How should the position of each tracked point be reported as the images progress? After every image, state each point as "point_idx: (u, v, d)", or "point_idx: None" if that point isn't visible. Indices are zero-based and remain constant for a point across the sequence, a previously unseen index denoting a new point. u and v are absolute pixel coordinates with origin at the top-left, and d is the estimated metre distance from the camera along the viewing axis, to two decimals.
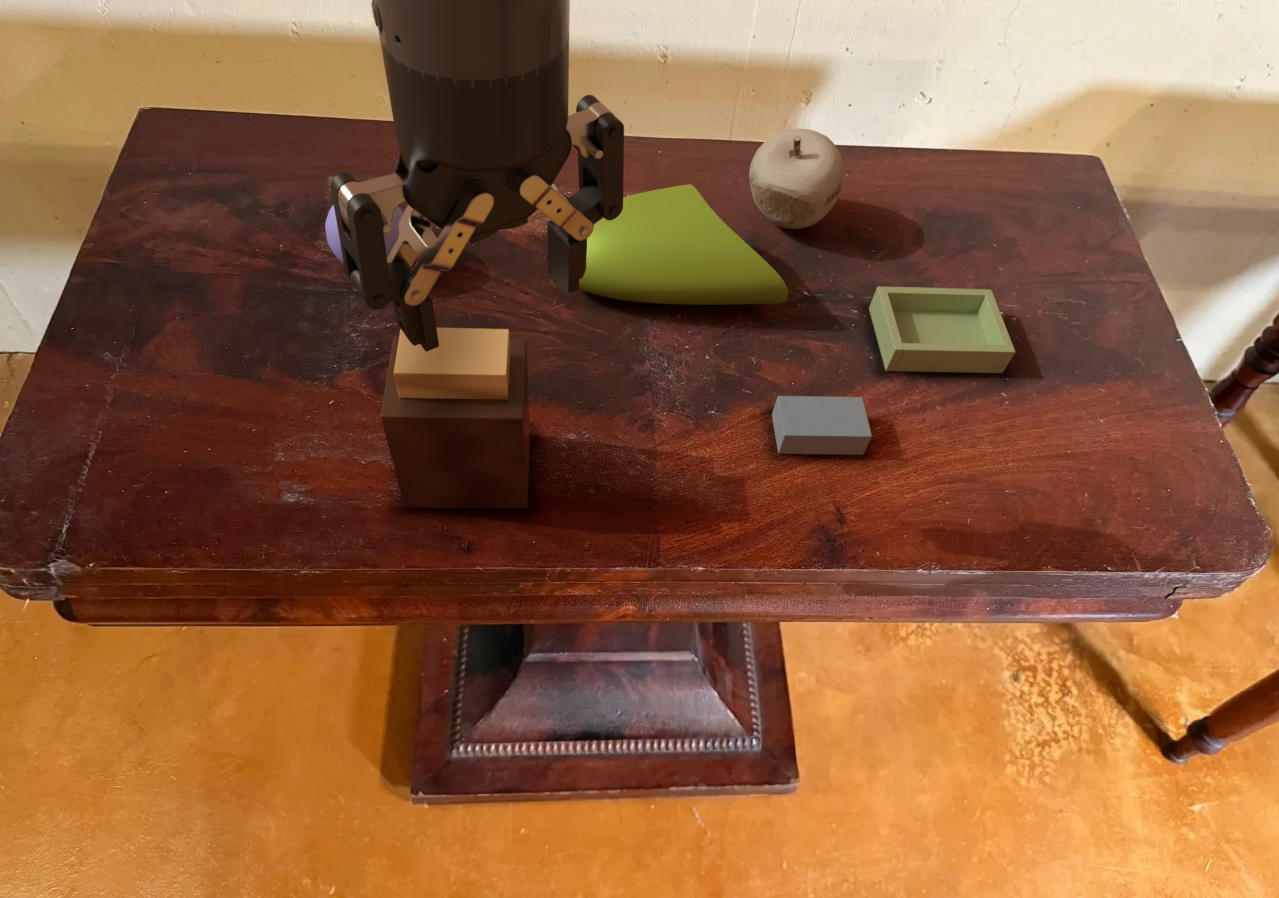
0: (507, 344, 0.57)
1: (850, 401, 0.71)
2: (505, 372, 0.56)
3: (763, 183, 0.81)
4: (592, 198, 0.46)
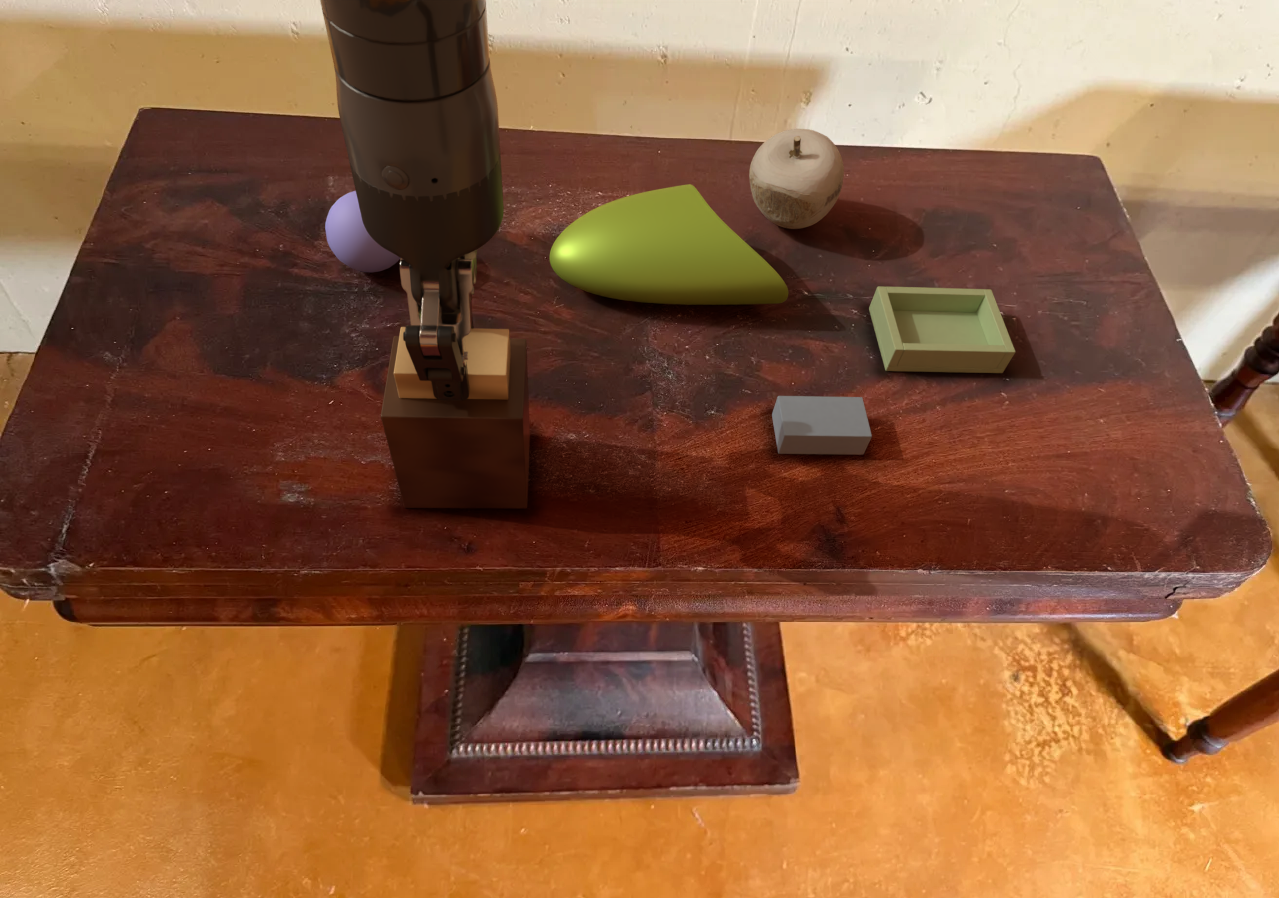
0: (507, 344, 0.57)
1: (850, 401, 0.71)
2: (505, 372, 0.56)
3: (763, 183, 0.81)
4: None
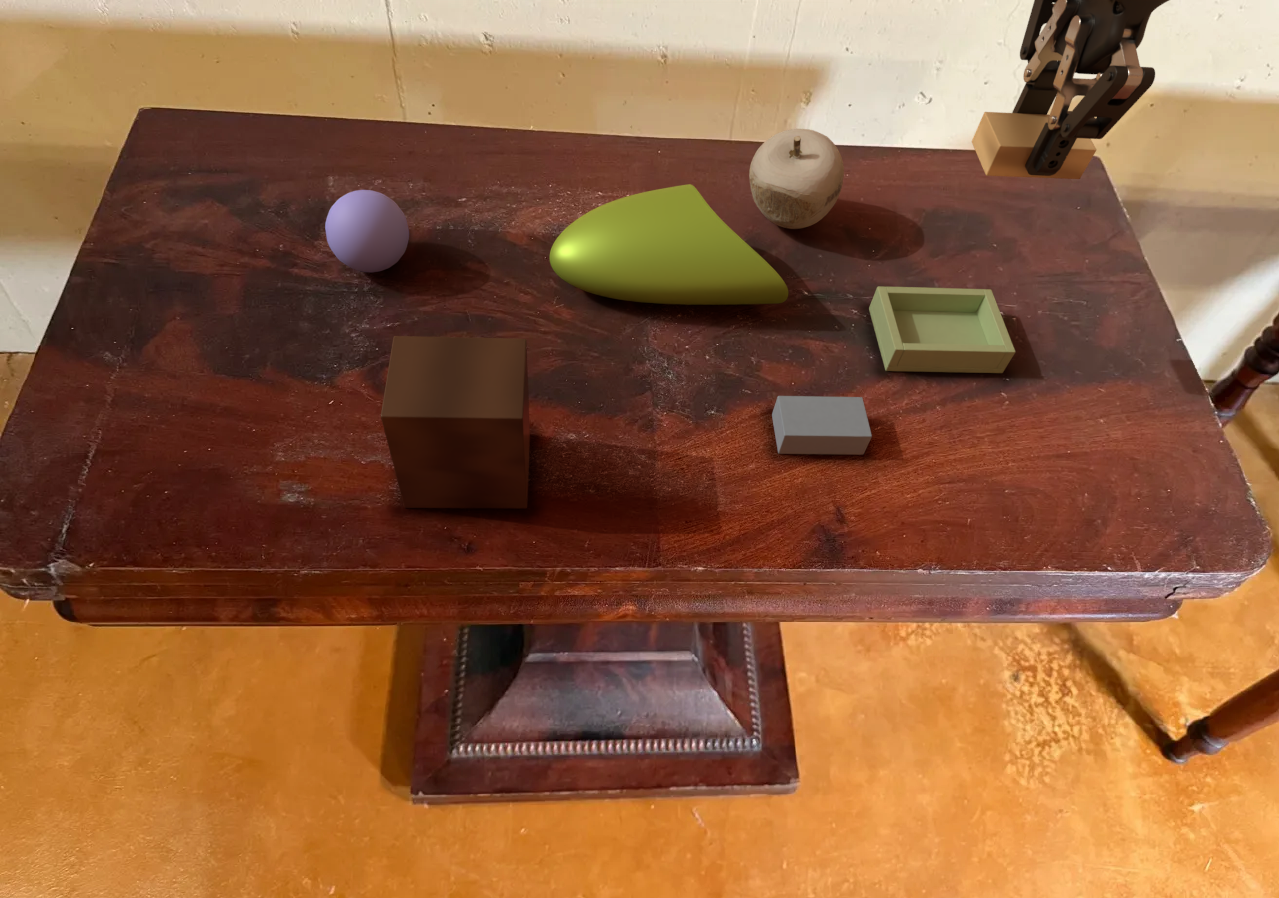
0: None
1: (850, 401, 0.71)
2: None
3: (763, 183, 0.81)
4: None
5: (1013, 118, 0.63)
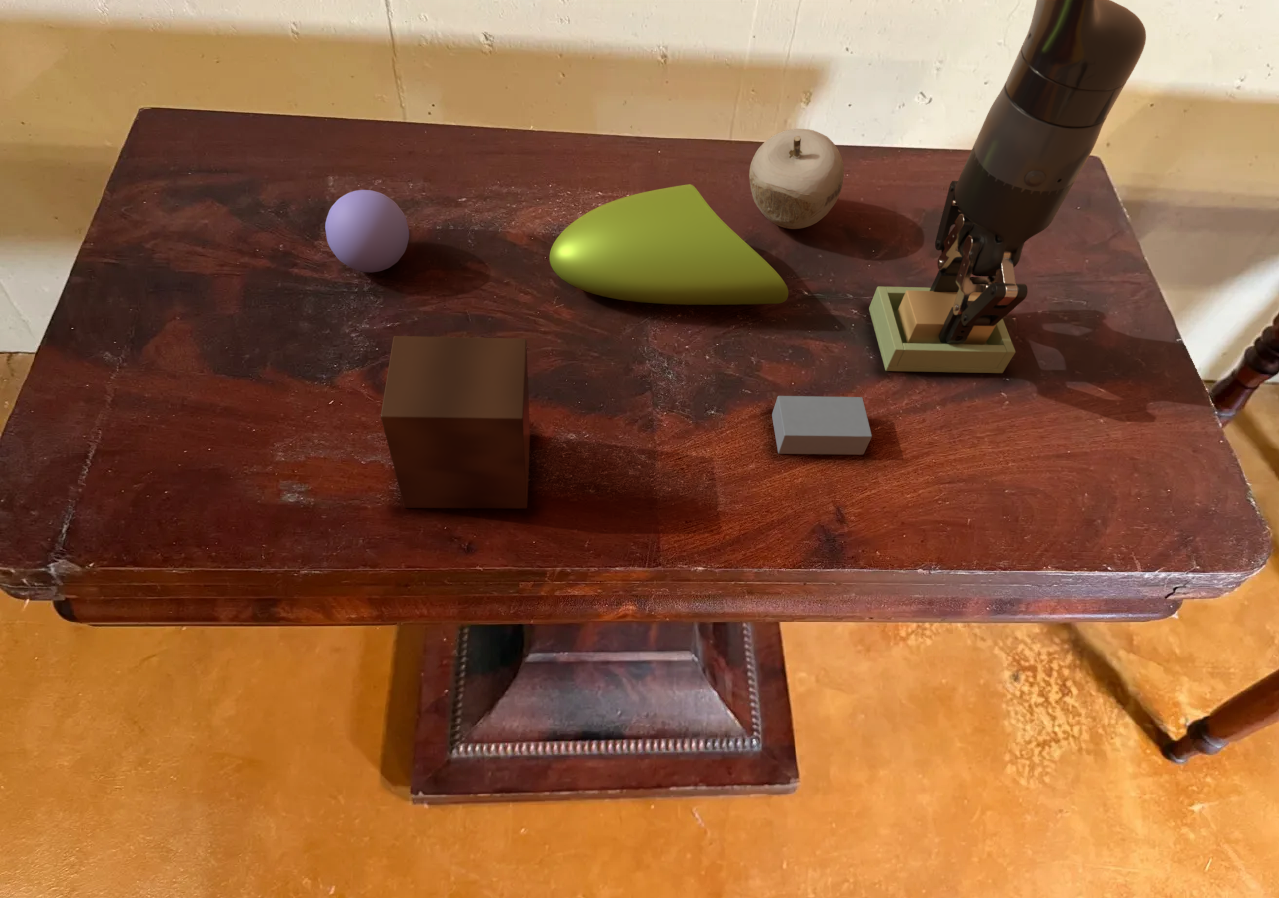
0: None
1: (850, 401, 0.71)
2: None
3: (763, 183, 0.81)
4: None
5: (929, 296, 0.77)
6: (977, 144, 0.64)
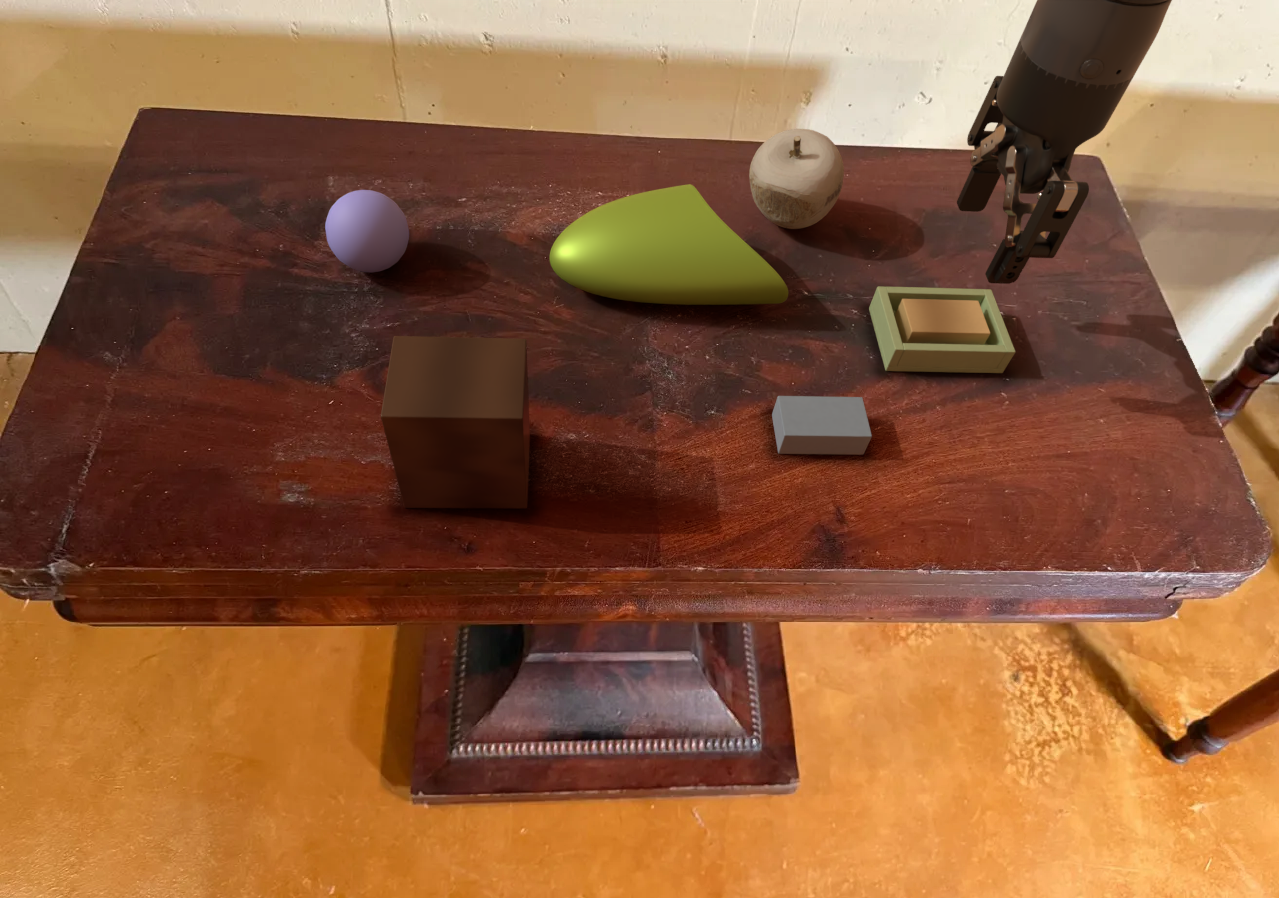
0: None
1: (850, 401, 0.71)
2: (989, 331, 0.76)
3: (763, 183, 0.81)
4: None
5: (924, 304, 0.78)
6: (1024, 36, 0.57)
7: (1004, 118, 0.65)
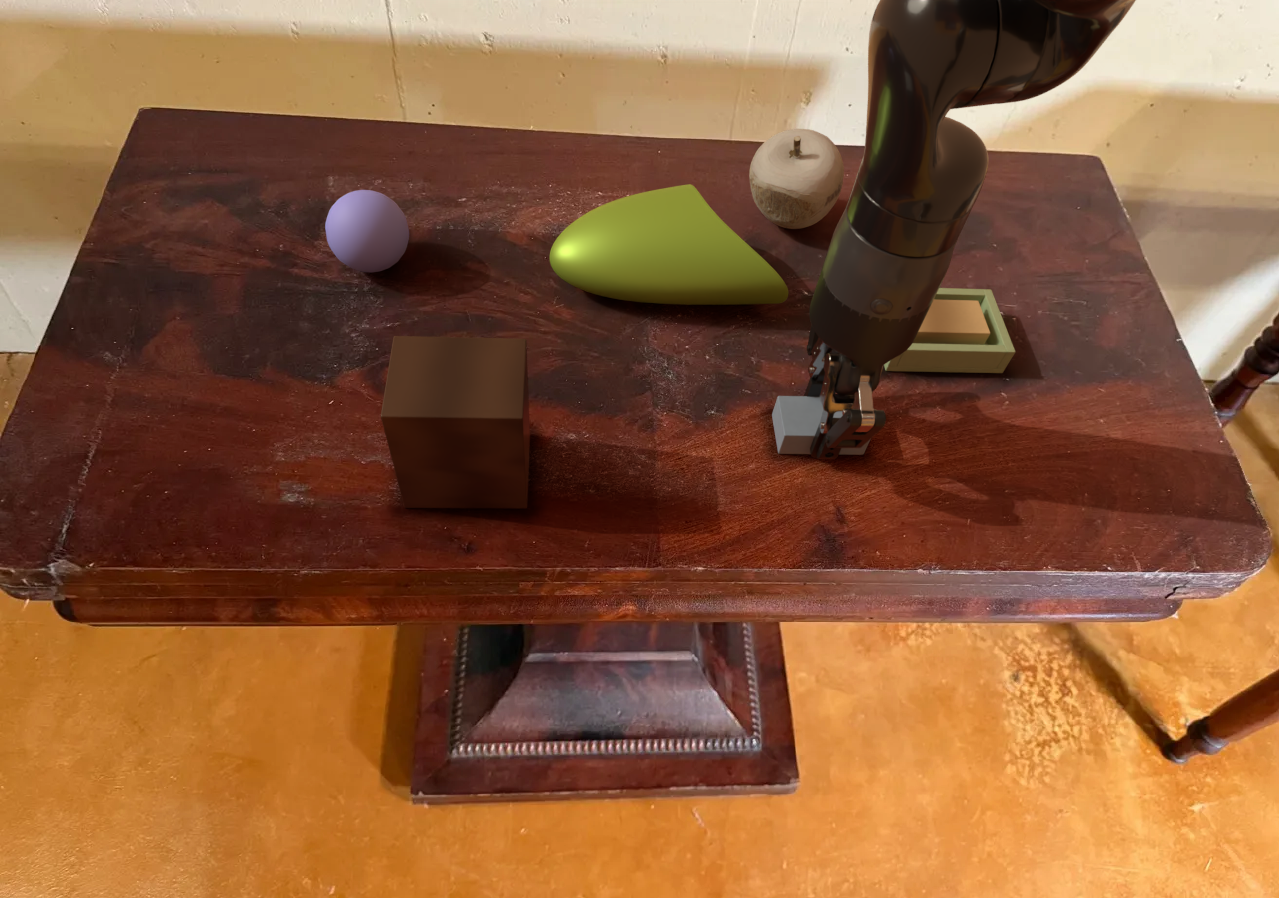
0: None
1: None
2: (989, 331, 0.76)
3: (763, 184, 0.81)
4: None
5: None
6: (825, 263, 0.58)
7: None
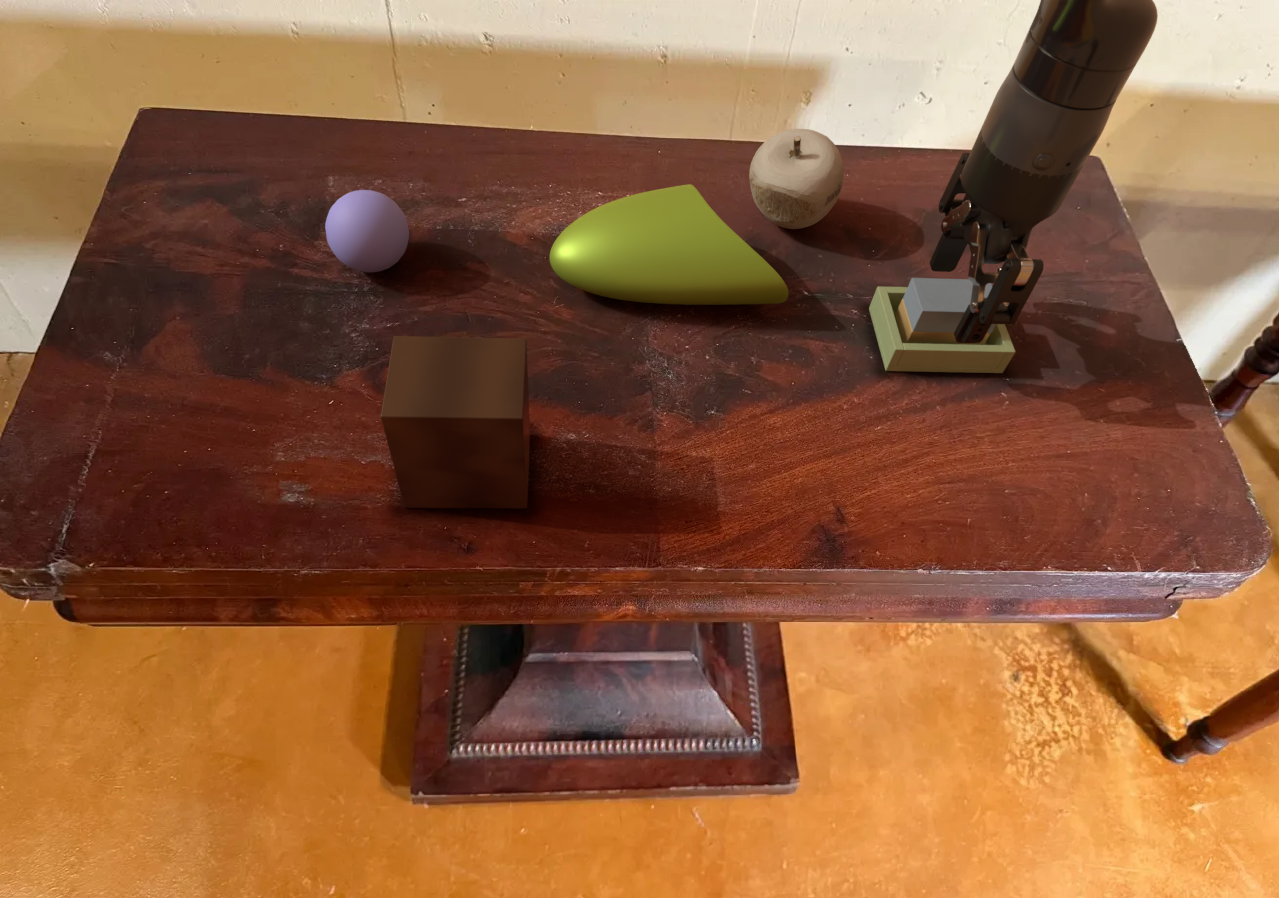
0: None
1: None
2: None
3: (763, 183, 0.81)
4: None
5: None
6: (984, 128, 0.63)
7: None
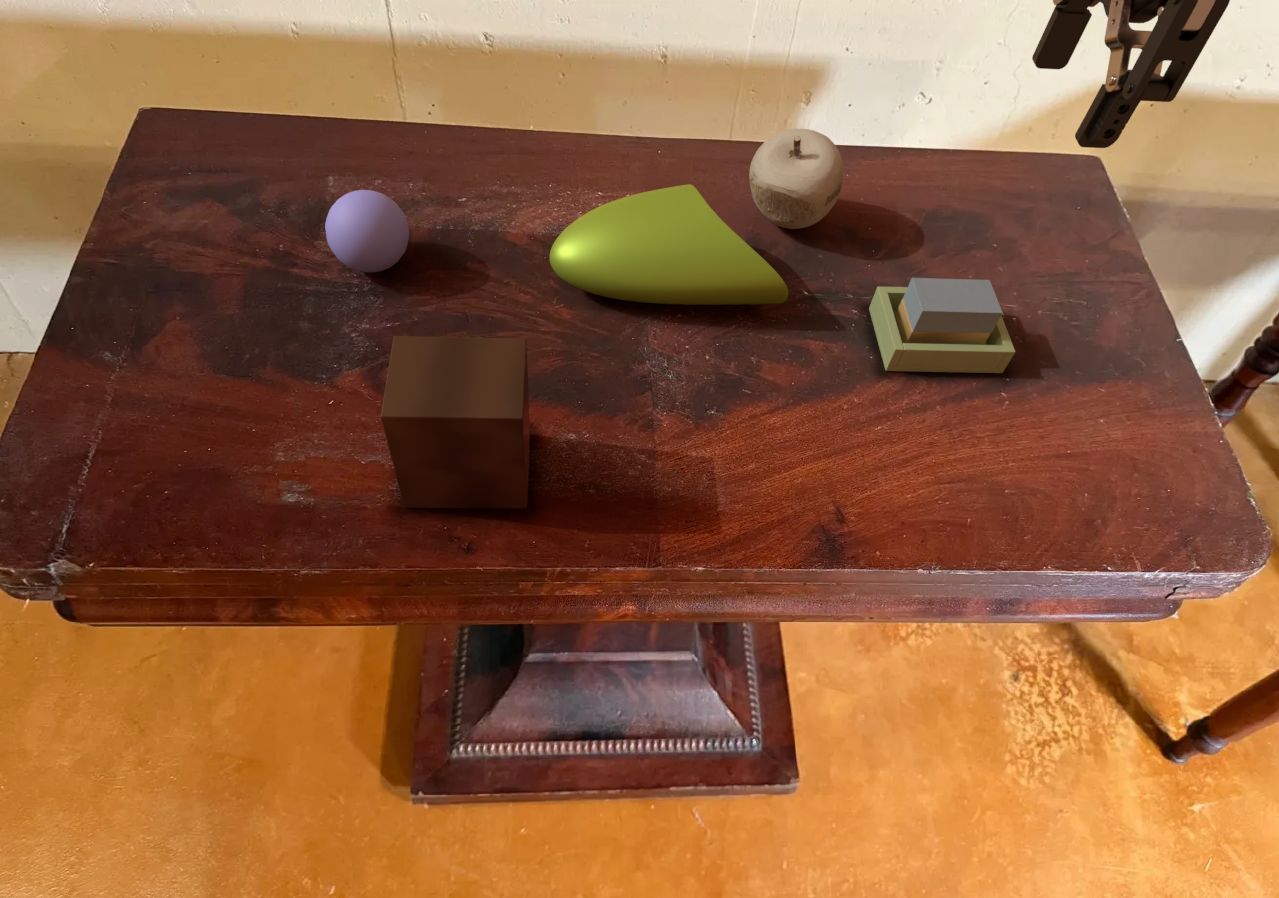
0: None
1: (978, 283, 0.76)
2: None
3: (763, 184, 0.81)
4: None
5: None
6: None
7: None
